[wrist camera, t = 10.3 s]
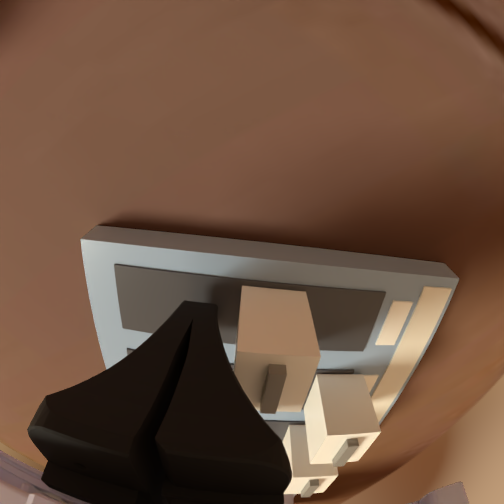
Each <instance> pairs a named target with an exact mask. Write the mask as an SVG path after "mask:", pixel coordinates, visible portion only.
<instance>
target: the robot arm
mask: <svg viewBox="0 0 504 504" xmlns="http://www.w3.org/2000/svg"><path fill="white" fill-rule="evenodd" d="M27 430H28V434H29V437H30V438H31V440H32V442H33V443H34V444H35V445H36V447H37V448H38V449H39V450H40V452H41V453H42V454H43V455H44V456H45V458H46V459H47V460H48V462H47V465H46V467H45V469H44V472H42V471H39V470H37V469H35V468H33V467H31V466H29V465H27V464H25V463H23V462H21V461H19V460H17V459H15V458H13V457H12V456H10V455H8V454H6V453H4V452H3V451H1V450H0V504H63V503H65V504H294V501H293V498H294V497H295V495H296V494H284V492H285V490H286V489H287V487H288V485H289V484H290V482H291V480H292V470H291V466H290V462H289V458H288V455H287V453H286V450H285V447H284V445H283V442H282V440H281V439H280V437H279V436H278V435H277V434H276V433H275V432H274V431H273V430H272V429H271V428H270V426H269V425H268V424H267V423H266V422H265V420H264V419H263V418H262V417H261V415H260V414H259V413H258V411H257V410H256V409H255V407H254V406H253V404H252V403H251V401H250V400H249V398H248V397H247V395H246V393H245V392H244V390H243V389H242V387H241V385H240V383H239V381H238V379H237V377H236V375H235V373H234V371H233V369H232V367H231V364H230V362H229V360H228V357H227V354H226V352H225V349H224V345H223V342H222V338H221V335H220V330H219V325H218V306H217V305H216V304H211V303H203V302H194V301H186V300H184V301H183V302H182V303H181V304H180V305H179V306H178V307H177V309H176V310H175V311H174V312H173V313H172V314H171V316H170V317H169V318H168V319H167V320H166V321H165V322H164V323H163V324H162V325H161V326H160V327H159V328H158V329H157V330H156V331H155V332H154V333H153V334H152V335H151V336H150V337H149V338H148V339H147V340H146V341H144V342H143V343H142V344H141V345H140V346H139V347H138V348H136V349H135V350H134V351H133V352H131V353H130V354H129V355H127V356H126V357H125V358H123V359H122V360H121V361H119V362H118V363H116V364H114V365H113V366H111V367H110V368H108V369H107V370H105V371H103V372H102V373H100V374H98V375H96V376H94V377H92V378H90V379H88V380H86V381H84V382H82V383H80V384H77V385H75V386H73V387H70V388H67V389H65V390H62V391H59V392H56V393H53V394H50V395H47V396H46V397H45V398H44V400H43V401H42V403H41V404H40V406H39V408H38V410H37V412H36V414H35V415H34V417H33V419H32V421H31V423H30V425H29V427H28V429H27ZM59 501H61V502H63V503H61V502H59ZM409 504H469V501H468V498H467V495H466V492H465V489H464V486H463V483H462V482H457V483H454V484H451V485H448V486H445V487H442V488H439V489H436V490H434V491H432V492H430V493H428V494H426V495H425V496H424V497H422V498H421V499H420V500H419V501H416V502H413V503H409Z"/></svg>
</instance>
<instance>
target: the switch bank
mask: <svg viewBox="0 0 504 504" xmlns="http://www.w3.org/2000/svg"><path fill="white" fill-rule="evenodd" d="M81 248H82V255H83V262H84V269H85V275H86V281H87V287H88V292H89V298H90V303H91V308H92V313H93V317H94V322H95V326H96V331H97V335H98V339H99V343H100V347H101V351H102V355H103V359H104V362H105V366H106V369H108V368H110V367H111V366H113V365H114V364H116V363H118V362H119V361H121V360H122V359H123V358H125V357H126V356H127V355H129V354H130V353H131V352H133V351H134V350H135V349H136V348H138V347H139V346H140V345H141V344H142V343H143V342H144V341H146V340H147V339H148V338H149V337H150V336H151V335H152V334H153V333H154V332H155V331H156V330H157V329H158V328H159V327H160V326H161V325H162V324H163V323H164V322H165V321H166V320H167V319H168V318H169V317H170V316H171V314H172V313H173V312H174V311H175V310H176V309H177V307H178V306H179V305H180V304H181V303H182V302H183V301H184V300H186V301H194V302H203V303H211V304H216V305H217V306H218V325H219V330H220V335H221V338H222V342H223V345H224V349H225V352H226V354H227V357H228V360H229V362H230V364H231V367H232V369H233V370H234V358H235V346H236V336H237V327H238V318H239V309H240V299H241V290H242V286H252V287H262V288H272V289H283V290H293V291H305V292H306V294H307V298H308V302H309V307H310V311H311V315H312V319H313V324H314V328H315V332H316V337H317V341H318V346H319V350H320V355H321V358H320V361H319V364H318V367H317V369H316V372H315V375H314V378H313V380H312V383H311V386H310V388H309V391H308V394H307V396H306V399H305V402H304V404H303V407H302V409H301V412H278V411H276V414H264V413H260V411H259V410H257V411H258V413H259V414H260V415H261V417H262V418H263V419H264V420H265V422H266V423H267V424H268V425H269V426H270V428H271V429H272V430H273V431H274V432H275V433H276V434H277V435H278V436H279V437H280V439H281V440H282V442H283V439H284V437H285V434H286V432H287V429H288V427H289V425H306V424H305V416H304V406H305V403H306V401H307V398H308V396H309V393H310V391H311V388H312V385H313V383H314V380H315V377H316V375H317V374H363V375H364V378H365V381H366V384H367V387H368V390H369V394H370V397H371V400H372V403H373V406H374V410H375V413H376V416H377V420H378V423H379V425H380V424H381V422H382V421H383V419H384V418H385V417H386V415H387V414H388V412H389V411H390V409H391V408H392V406H393V405H394V403H395V402H396V400H397V399H398V397H399V395H400V394H401V392H402V391H403V389H404V387H405V386H406V384H407V383H408V381H409V379H410V378H411V376H412V374H413V373H414V371H415V369H416V367H417V366H418V364H419V362H420V360H421V359H422V357H423V355H424V353H425V351H426V349H427V347H428V346H429V344H430V342H431V340H432V338H433V336H434V334H435V332H436V330H437V328H438V326H439V324H440V322H441V320H442V318H443V316H444V313H445V311H446V309H447V307H448V305H449V302H450V300H451V298H452V296H453V293H454V291H455V289H456V286H457V284H458V281H459V278H458V276H457V275H456V274H455V273H454V272H453V271H452V270H451V269H450V268H449V267H448V266H447V265H446V264H445V263H440V262H431V261H423V260H415V259H407V258H399V257H390V256H382V255H373V254H365V253H356V252H347V251H339V250H330V249H321V248H312V247H303V246H294V245H285V244H276V243H267V242H258V241H248V240H239V239H229V238H220V237H210V236H200V235H191V234H181V233H171V232H161V231H151V230H140V229H130V228H120V227H109V226H98V225H96V226H95V227H94V228H93V229H92V230H90V231H89V232H88V233H87V234H86V235H85V236H83V237H82V238H81Z"/></svg>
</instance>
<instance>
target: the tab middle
mask: <svg viewBox="0 0 504 504" xmlns="http://www.w3.org/2000/svg"><path fill="white" fill-rule="evenodd" d="M304 416H305V424H306V433H307V442H308V450H309V460H310V464H327V463H333V467H338V466H344V465H345V464H346V462H353V461H358V460H359V459H360V458H361V457H362V455H363V454H364V453H365V452H366V450H367V449H368V448H369V447H370V445H371V444H372V443H373V442H374V440H375V439H376V438H377V436H378V435H379V434H380V432H381V430H380V426H379V423H378V420H377V416H376V413H375V410H374V406H373V403H372V400H371V397H370V394H369V390H368V387H367V384H366V381H365V378H364V375H363V374H317V375H316V377H315V380H314V383H313V385H312V388H311V391H310V393H309V396H308V398H307V401H306V403H305V406H304Z"/></svg>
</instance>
